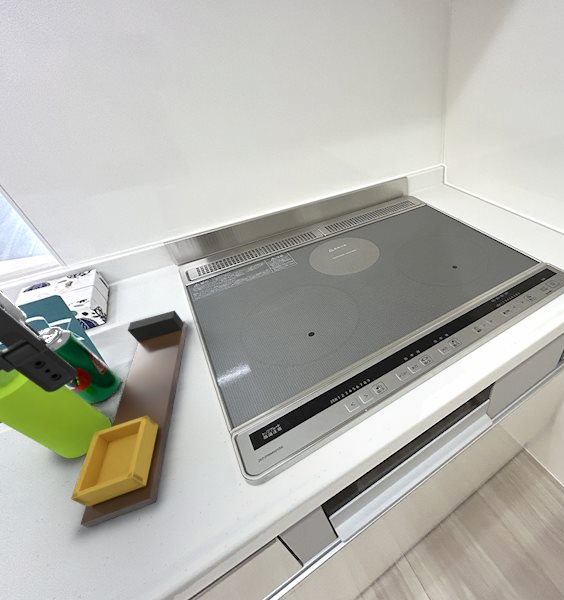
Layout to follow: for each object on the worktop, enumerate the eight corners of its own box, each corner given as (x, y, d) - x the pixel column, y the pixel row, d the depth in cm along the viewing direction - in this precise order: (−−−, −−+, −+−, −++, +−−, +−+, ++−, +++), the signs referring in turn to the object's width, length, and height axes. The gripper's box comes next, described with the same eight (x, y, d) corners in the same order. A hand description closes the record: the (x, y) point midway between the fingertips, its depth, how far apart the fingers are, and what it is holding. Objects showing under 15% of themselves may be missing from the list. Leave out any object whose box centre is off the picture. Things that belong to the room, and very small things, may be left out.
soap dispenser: (108, 404, 49) (-16, 305, 36) (113, 438, 45) (-25, 340, 32) (60, 429, 47) (-93, 334, 33) (61, 468, 42) (-114, 376, 29)
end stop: (182, 329, 58) (173, 317, 56) (138, 342, 57) (127, 330, 55) (183, 322, 60) (174, 310, 58) (141, 334, 58) (130, 322, 56)
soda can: (129, 384, 52) (71, 332, 44) (94, 410, 48) (25, 359, 40) (113, 372, 54) (55, 320, 46) (78, 396, 51) (10, 345, 43)
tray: (146, 485, 38) (132, 477, 37) (87, 507, 37) (70, 499, 35) (158, 425, 44) (147, 415, 42) (108, 442, 43) (94, 432, 41)
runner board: (155, 501, 38) (149, 498, 38) (87, 527, 37) (80, 524, 36) (187, 325, 61) (184, 320, 60) (145, 337, 59) (141, 332, 58)
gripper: (-291, 189, 20) (-31, 361, 30) (-326, 245, 13) (20, 438, 24) (-106, 148, 24) (63, 310, 35) (-65, 175, 18) (127, 363, 28)
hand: (45, 362), depth 29 cm, fingers open, 8 cm apart
